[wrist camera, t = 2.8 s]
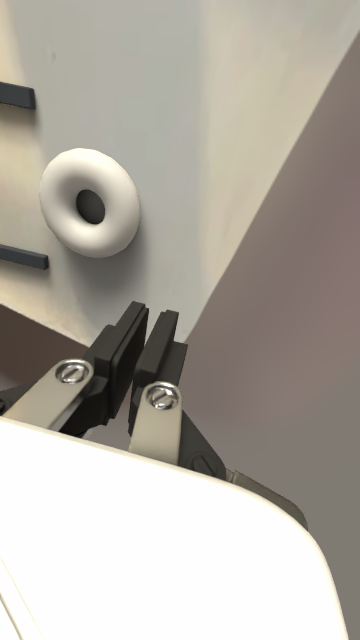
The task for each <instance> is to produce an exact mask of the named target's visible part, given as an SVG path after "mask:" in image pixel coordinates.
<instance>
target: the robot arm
mask: <svg viewBox="0 0 360 640" xmlns="http://www.w3.org/2000/svg"><path fill="white" fill-rule="evenodd" d="M148 314H149V308H145V304H143V303H139V302H135V301H132V303H131V304H130V306H129V307H128V308H127V310H126V311H125V313H124V314H123V316H122V317H121V319H120V320H119V321H118V323H117V324H116V326H112V325H107V326H106V327H105V328H104V329H103V331H102V332H101V333H100V335H99V336H98V337H97V339H96V340H95V341H94V343H93V344H92V345H91V347H90V348H89V349H88V351H87V352H86V354H85V355H84V356H83V358H82V359H67V360H64V361H61V362H59V363H58V364H56V365H55V366H54V367H53V368H52V369H51V370H50V371H48V372H47V373H46V374H45V375H44V376H43V377H42V378H41V379H40V380H39V381H35V382H32V383H29V384H25V385H21V386H18V387H14V388H11V389H7V390H3V391H0V640H349V639H348V635H347V630H346V627H345V622H344V618H343V614H342V610H341V606H340V602H339V599H338V595H337V591H336V588H335V585H334V582H333V579H332V576H331V573H330V570H329V568H328V565H327V562H326V560H325V558H324V555H323V553H322V551H321V550H320V548H319V546H318V544H317V543H316V542H315V540H314V539H313V538H312V537H311V535H310V534H309V533H308V526H307V522H306V519H305V517H304V514H303V513H302V512H301V510H300V509H299V508H298V507H297V506H296V505H295V504H294V503H292V502H291V501H290V500H288V499H286V498H284V497H283V496H281V495H279V494H277V493H275V492H274V491H272V490H270V489H268V488H267V487H265V486H263V485H261V484H260V483H258V482H256V481H254V480H252V479H251V478H249V477H247V476H245V475H243V474H242V473H240V472H238V471H235V472H234V473H233V472H231V471H230V470H228V469H226V468H225V466H224V464H223V462H222V460H221V459H220V457H219V456H218V455H217V454H216V452H215V451H214V450H213V449H212V447H211V446H210V444H209V443H208V442H207V441H206V439H205V438H204V437H203V435H202V434H201V433H200V431H199V430H198V429H197V428H196V426H195V425H194V424H193V422H192V421H191V420H190V418H189V417H188V416H187V415H186V413H185V412H184V411H183V409H182V408H183V395H182V393H181V391H180V390H179V388H178V383H179V379H180V376H181V372H182V368H183V364H184V360H185V356H186V351H187V347H188V345H187V344H183V343H179V342H175V341H173V340H174V335H175V330H176V326H177V321H178V315H179V312H175V311H171V310H166V312H161V313H160V315H159V317H158V320H157V322H156V324H155V326H154V328H153V330H152V332H151V334H150V336H149V338H148V340H147V342H146V344H145V337H146V329H147V322H148ZM144 344H145V347H144ZM132 380H133V385H132V394H131V402H130V411H129V419H128V423H129V429H128V433H129V435H130V436H131V442H130V447H129V450H128V452H126V451H123V450H119V449H116V448H112V447H108V446H105V445H101V444H98V443H94V442H91V441H87V439H88V437H89V436H90V435H91V433H92V430H93V427H95V426H98V425H105V426H106V425H107V423H108V421H109V419H110V418H112V419H114V418H115V417H116V415H117V413H118V410H119V408H120V406H121V404H122V402H123V400H124V397H125V395H126V393H127V391H128V389H129V387H130V384H131V382H132Z"/></svg>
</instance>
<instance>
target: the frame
mask: <svg viewBox="0 0 360 640" xmlns="http://www.w3.org/2000/svg"><path fill="white" fill-rule="evenodd" d="M0 103H5V104H9V105H14V106H19V107H24V108H28V109H35V98H34V89H32V88H28V87H23V86H18V85H13V84H8V83H4V82H0ZM0 259H3V260H7V261H11V262H15V263H19V264H23V265H27V266H31V267H35V268H40V269H44V270H45V269H47V268H48V256H46V255H42V254H38V253H34V252H30V251H26V250H21V249H17V248H13V247H9V246H5V245H1V244H0Z"/></svg>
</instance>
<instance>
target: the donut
mask: <svg viewBox="0 0 360 640" xmlns="http://www.w3.org/2000/svg"><path fill="white" fill-rule="evenodd" d="M84 189H89V190H91V191H93V192H95V193H96V194H97V195H98V196H100V198H101V200H102V201H103V203H104V206H105V217H104V220H103V221H102V222H101V223H100V224H97V225H95V224H90V223H88V222H86V221H85V220H84V219H83V218H82V217H81V215H80V214H79V212H78V209H77V206H76V199H77V195H78V194H79V192H80V191H81V190H84ZM39 197H40V204H41V210H42V213H43V215H44V218H45V220H46V222H47V225H48V227H49V228H50V229H51V231H52V232H53V233H54V235H55V236H56V237H57V239H58V240H59V241H61V242H62V243H63V244H64V245H65V246H67V247H68V248H69V249H71V250H73V251H75V252H77V253H79V254H81V255H83V256H88V257H95V258H102V257H108V256H113V255H115V254H117V253H118V252H120V251H122V250H123V249H125V248H126V247H127V246H128V245H129V243H130V242H131V241H132V239H133V238H134V237H135V234H136V231H137V228H138V226H139V223H140V202H139V199H138V195H137V191H136V188H135V186H134V184H133V182H132V181H131V179H130V177H129V176H128V174H127V172H126V171H125V170H124V169H123V168H122V167H121V166H120V165H119V164H118V163H117V162H116V161H114V160H113V159H112V158H110V157H108V156H106V155H104V154H102V153H100V152H98V151H96V150H90V149H81V148H76V149H73V150H70V151H66V152H63V153H61V154H59V155H58V156H57V157H56V158H55V159H53V160H52V161H51V162H50V163H49V164H48V166H47V168H46V170H45V172H44V174H43V176H42V178H41V184H40V192H39Z"/></svg>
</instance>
